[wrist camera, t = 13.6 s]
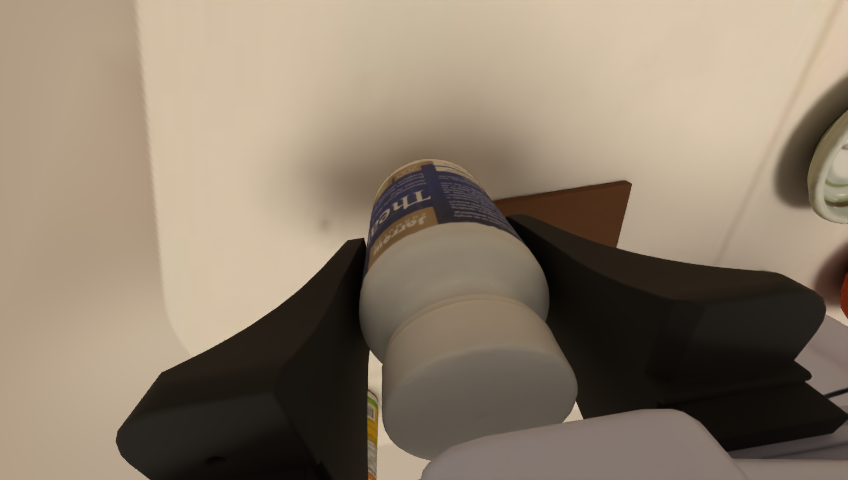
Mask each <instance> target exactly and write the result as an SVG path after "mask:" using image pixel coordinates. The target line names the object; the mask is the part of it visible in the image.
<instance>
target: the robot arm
mask: <svg viewBox="0 0 848 480" xmlns="http://www.w3.org/2000/svg"><path fill="white" fill-rule="evenodd" d="M506 220H507V221H508V222H509V224H510V225H511V226H512V227H513V229H514V230H515V232H516V233H517V234H518V236H519V237H520V238H521V239H522V241H523V242H524V243H525V245H526V246H527V247H528V248H529V250H530V251H531V253H532V254H533V255H534V257H535V259H536V260H537V262H538V263H539V265H540V266H541V268H542V270H543V273H544V275H545V277H546V281H547V284H548V289H549V310H548V315H547V319H546V322H545V323H546V324H547V325H548V327H549V328H550V330H551V332H552V334H553V336H554V338H555V340H556V342H557V344H558V345H559V347H560V349H561V350H562V352H563V354H564V356H565V357H566V359H567V361H568V363H569V364H570V366H571V368H572V370H573V372H574V374H575V377H576V380H577V386H578V394H577V397H576V402H577V405H578V407H579V410H580V412H581V414H582V417H583V420H578V421H571V422H565V423H559V424H554V425H548V426H542V427H536V428H530V429H524V430H519V431H513V432H507V433H501V434H495V435H489V436H484V437H480V438H477V439H474V440H471V441H467V442H464V443H461V444H458V445H455V446H452V447H449V448H448V449H447V450H445V451H444V452H443V453H441V454H440V455H439V456H437V457H436V458H435V459H433V460H432V461H431V462H429V463H428V465H427V466H426V467H425V469H424V470H423V473H422V476H421V479H420V480H848V327H847V326H846V325H844V324H842V323H840V322H838V321H837V320H835V319H833V318H831V317H830V316H828V315H826V314H825V313H826V306H825V303H824V299H823V297H821V296H820V295H819V294H818V293H816V292H815V291H813V290H811V289H809V288H807V287H805V286H804V285H802V284H800V283H798V282H796V281H794V280H792V279H790V278H788V277H786V276H784V275H782V274H779V273H775V272H764V271H752V270H741V269H730V268H720V267H712V266H704V265H697V264H690V263H683V262H677V261H671V260H666V259H661V258H656V257H651V256H646V255H641V254H637V253H633V252H629V251H625V250H621V249H618V248H614V247H610V246H607V245H604V244H600V243H597V242H594V241H591V240H589V239H586V238H583V237H580V236H577V235H575V234H572V233H570V232H567V231H565V230H562V229H560V228H557V227H555V226H553V225H550V224H548V223H546V222H543V221H541V220H539V219H536V218H534V217H531V216H529V215H526V214H515V215H509V216H506ZM365 256H366V244H365V240H364V238H359V239H353V240H348V241H347V242H345V244H344V245H343V246H342V247H341V248H340V249H339V250H338V251H337V252H336V253H335V255H334V256H333V257H332V258H331V259H330V260H329V261H328V262H327V263H326V264H325V265H324V267H323V268H322V269H321V270H320V271H319V272H318V273H317V274H315V275H314V276H313V277H312V278H311V279H310V280H309V281H308V282H307V283H306V284H305V285H304V286H303V287H302V288H301V289H300V290H298V291H297V292H296V293H295V294H294V295H292V296H291V297H290V298H289V299H287V300H286V301H285V302H284V303H282V304H281V305H280V306H278V307H277V308H276V309H274V310H273V311H271V312H270V313H268V314H267V315H265V316H264V317H262V318H261V319H260V320H258V321H257V322H255V323H254V324H252V325H251V326H249V327H247V328H246V329H244V330H242V331H241V332H239V333H237V334H236V335H234V336H232V337H231V338H229V339H227V340H225V341H223V342H222V343H220V344H218V345H216V346H214V347H213V348H211V349H209V350H207V351H205V352H203V353H201V354H199V355H197V356H195V357H193V358H191V359H189V360H187V361H185V362H183V363H181V364H179V365H177V366H175V367H173V368H170V369H168V370H166V371H164V372H162V373H161V374H160V375H159V377H158V378H157V379H156V381H155V382H154V383H153V385H152V386H151V387H150V389H149V390H148V391H147V393H146V394H145V395H144V397H143V398H142V399H141V401H140V402H139V403H138V405H137V406H136V407H135V409H134V410H133V411H132V413H131V414H130V415H129V417H128V418H127V419H126V421H125V422H124V423H123V425H122V426H121V427H120V429H119V430H118V432H117V437H116V444H117V446H118V449H119V451H120V453H121V456H122V457H123V458H124V459H125V460H126V461H127V462H128V463H129V464H130V465H132V466H133V467H134V468H135V469H137V470H138V471H140V472H141V473H142V474H143V475H145V476H146V477H147V478H149V479H150V480H368V430H367V407H368V362H369V351H370V348H369V347H368V345H367V343H366V341H365V339H364V337H363V334H362V331H361V326H360V321H359V299H360V290H361V283H362V277H363V269H364V263H365Z"/></svg>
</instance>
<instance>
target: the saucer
mask: <svg viewBox="0 0 848 480" xmlns="http://www.w3.org/2000/svg"><path fill="white" fill-rule="evenodd" d="M807 185H808V190H809V200H810V204H811V206H812V208H813V210H814V211H815V213H816V214H818V215H819V216H820V217H822V218H823V219H825V220H828V221H831V222H834V223H841V224H848V110H847V111H846V112H845V113H844V114H842V115H841V116H840V117H839V118H838V119H837V120H836V121H835V122H834V123H833V124H832V125H831V126H830V127H829V129H828V130H827V131H826V132H825V134H824V135H823V136H822V138H821V139H820V141H819V143H818V145H817V147H816V149H815V152H814V155H813V159H812V161H811V164H810V167H809V172H808V179H807Z"/></svg>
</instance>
